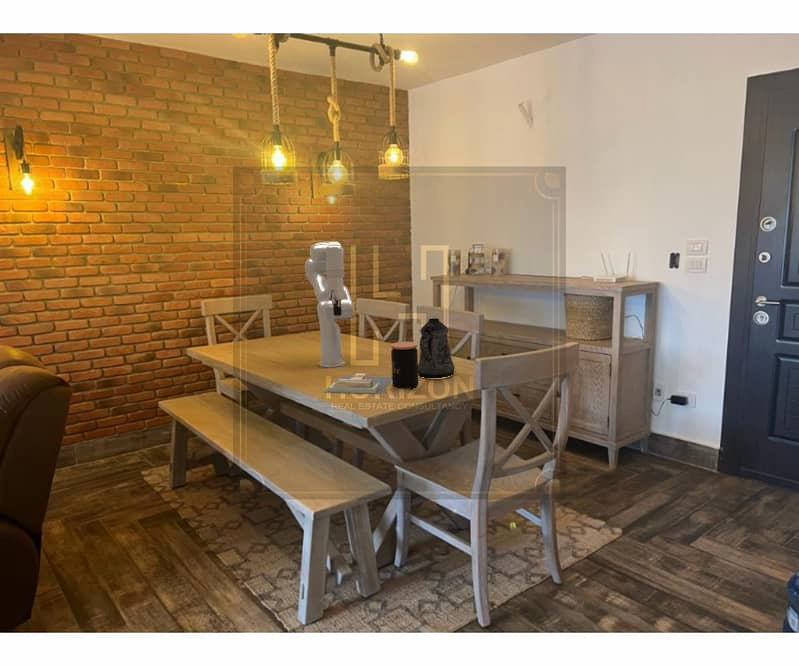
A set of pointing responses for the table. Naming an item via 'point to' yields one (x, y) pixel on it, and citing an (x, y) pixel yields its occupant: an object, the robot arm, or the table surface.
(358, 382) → the t block
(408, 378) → the coffee jar
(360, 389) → the mat
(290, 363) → the table surface
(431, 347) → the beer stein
